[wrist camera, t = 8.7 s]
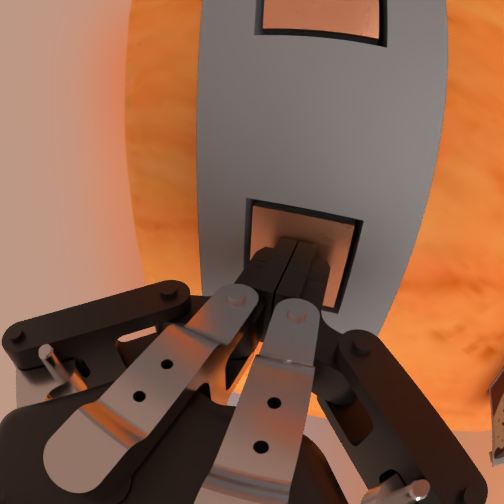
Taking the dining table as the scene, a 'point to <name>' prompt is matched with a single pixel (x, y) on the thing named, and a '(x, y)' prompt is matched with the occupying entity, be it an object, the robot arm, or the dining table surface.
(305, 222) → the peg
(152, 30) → the dining table surface
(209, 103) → the guide block
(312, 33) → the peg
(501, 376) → the half cake
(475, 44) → the dining table surface
